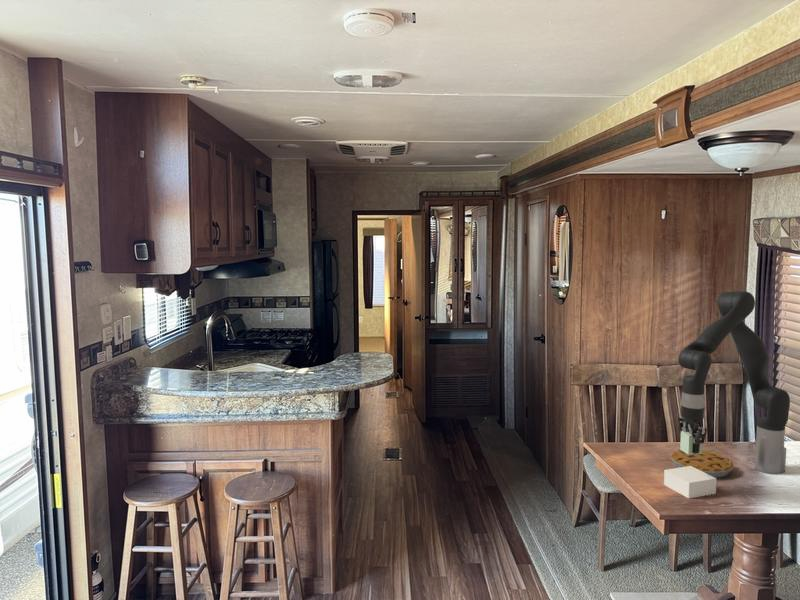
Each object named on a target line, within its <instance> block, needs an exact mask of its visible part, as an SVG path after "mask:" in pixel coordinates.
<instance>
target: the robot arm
mask: <svg viewBox="0 0 800 600" xmlns="http://www.w3.org/2000/svg"><path fill="white" fill-rule="evenodd" d="M717 307H718V311H719V314H721V318H719V319H717V320H716V321H714V322H712V323H710V324H709V325H708V326H707V327H706V328H704V329H703V331H702V332H701V333H700V334H699V336H698V338H697V339H695V340H693V341H692V342H691V343H689V344H688V345H686V346H685V347H684V348H683V349H682V350H681V351H680V353H679V354H678V357H677V362H678V365H680V367H682V368H683V369H688V370H693V371H695V373H694V374H693V375H688V374H687V375H685V376H683V378H682V390H681V398H680V399H681V400H680V417H678V418H677V424H678V425H677V426H678V433H679V435H681V431H684V432H688V431H689V432H690V435H691V436H692V437H693V447H692V452H693V453H694V454H696V453H699V448H700V443H702V444H705V441H706V438H707V437H706V436H707V432H708V429H707V428H705V427H704V428H703V426H702V422H701V421H703V420H704V418H705V403H706V401H705V384H706V380H707V377H708V373H709V371H710V368H711V365H712V358H711V354H713V353H714V352H715V351H717V349H718V347H719V346H720V345H721V344H722V343H723V341H724V340H725V338H726V337H727V336H728V335H729V334H730V335H731V337H732V339H733V342H734V345H735V347H736V349H737V353H738V357H739V358H740V361H741V363H742V366H743V368H744V370H745V374H746V376H747V379H748V383H749V387H750V391H751V395H752V398H753V401H754V402H755V405H757V406H758V407H759V408H762V409H765V410H767V413H766V416H761V417H759V418H757V421H756V436H755V437H756V440H755V459H754V468H755V469H756V470H757V471H760V472H762V473H766V474H770V475H771V474H772V475H778V474H782V473H783V472H784V473H785V472H786V463H787V462H786V461H787V448H786V447H785V437H786V436H785V435H786V425H787V424H788V421H789V415H790V414H789V413H790V406H791V400H790V399H791V398H790V395H789V393H788V392H787V391H786V390H784V389H782V388H778V387H777V386H776V387H775V386H772V385H771V384H770V382H769V380H768V378H767V375H766V369H767V366H768V363H769V353H768V351H767V349H766V345H765V343H764V341H763V340H762V337H760V336H759V335H758V334H757V333H755V331H753V329H751V328H750V327H749V326H748V325H747V324H746V323H745V322H744V320H745V319H746V318H747V317H749V315H751V313H752V312H754V309H755V307H756V300H755V297H754V295H753V294H752V293H751V292H749V291H739V290H738V291H736V290H735V291H724V292H722V293H720V294H719V295H718V297H717ZM693 433H697V434H696V435H694V434H693ZM695 437H697V438H696V440H695ZM701 438H702V439H701Z"/></svg>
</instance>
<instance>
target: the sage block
mask: <svg viewBox="0 0 800 600" xmlns="http://www.w3.org/2000/svg"><path fill="white" fill-rule="evenodd" d="M693 434H694V435H696V434H697V433H693ZM696 438H697V437H695V440H696ZM701 439H702V438H701ZM679 445H680V448H679V450H682V451H683V452H685V453H686V454H688V455H693V454H694V453H693V452H692V447H693V437H692V436H691V435H690V432H689V431H688V432H684V431H681V434H680V444H679ZM702 449H703V443H700V448H699V453H696V454H702V451H703V450H702Z"/></svg>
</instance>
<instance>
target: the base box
mask: <svg viewBox="0 0 800 600" xmlns="http://www.w3.org/2000/svg"><path fill="white" fill-rule="evenodd" d="M663 472H664V474H663V486H665V487H667V488H669V489H671V490H673V491H674V492H676V493H679V494H680V495H682V496H684V497H685V498H687V499H694V498H699V497H705V495H706V496H711V494H712V495H715V494H717V478H715V477H713V476H711V475H708V474H706V473H704V472H702V471H700V470H698V469H696V468H694V467H692V466H687V467H680V468H677V467H675V468H668V469H664V471H663Z"/></svg>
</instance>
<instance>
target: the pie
mask: <svg viewBox="0 0 800 600" xmlns="http://www.w3.org/2000/svg"><path fill="white" fill-rule="evenodd" d="M670 459H671V461H673V464H674V466H675V468H680V467H687V466H692V467H694V468H696V469H698V470H700V471H702V472H704V473H706V474H708V475H711V476H713V477H715V478H723V477H726V476H728V475H729V473H730V472H731V471H732V470H733V469H734V467H735V465H734V464H733V461H732V460H730V459H729V457H726V456H725V457H724V456H722V454H719V453H714V452H712V451H711V450H710V451H709V450H707V451H706V450H705V451H704V450H702V454H693V455H688V454H686V453H685V452H683V451H682V450H680V449H678V450H677V451H674V452H672V454H671V456H670Z"/></svg>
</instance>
